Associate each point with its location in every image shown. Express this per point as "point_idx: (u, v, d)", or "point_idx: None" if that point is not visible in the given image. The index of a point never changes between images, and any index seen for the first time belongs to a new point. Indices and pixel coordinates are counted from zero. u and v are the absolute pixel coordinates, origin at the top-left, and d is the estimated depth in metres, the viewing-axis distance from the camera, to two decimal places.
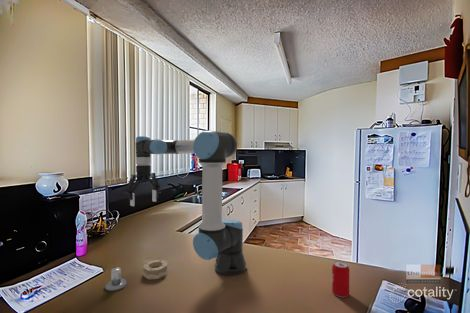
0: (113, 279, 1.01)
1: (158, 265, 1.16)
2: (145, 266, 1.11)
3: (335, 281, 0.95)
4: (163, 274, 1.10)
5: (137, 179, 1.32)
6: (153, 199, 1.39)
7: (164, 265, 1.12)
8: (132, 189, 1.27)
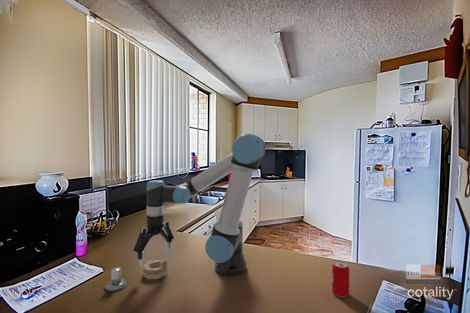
0: (113, 279, 1.01)
1: (158, 265, 1.16)
2: (145, 266, 1.11)
3: (335, 281, 0.95)
4: (163, 274, 1.10)
5: (148, 232, 1.11)
6: (165, 252, 1.18)
7: (164, 265, 1.12)
8: (142, 246, 1.06)
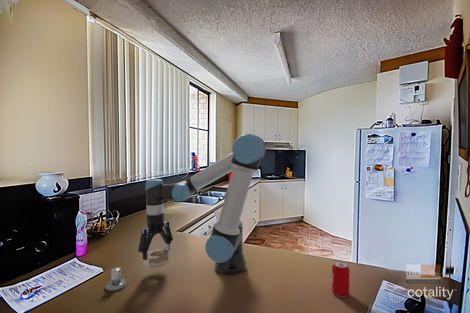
0: (113, 279, 1.01)
1: (159, 254, 1.15)
2: None
3: (335, 281, 0.95)
4: (164, 262, 1.10)
5: (149, 232, 1.11)
6: None
7: (165, 253, 1.12)
8: (146, 247, 1.07)
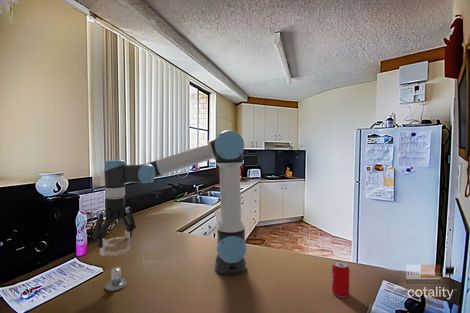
0: (113, 279, 1.01)
1: (119, 242, 1.05)
2: None
3: (335, 281, 0.95)
4: (123, 251, 0.99)
5: None
6: None
7: (124, 242, 1.01)
8: (101, 233, 0.96)
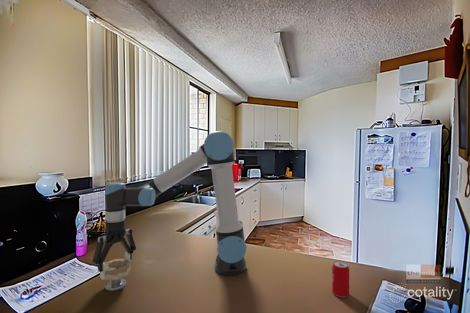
0: None
1: (119, 264, 1.05)
2: None
3: (335, 281, 0.95)
4: (123, 274, 1.00)
5: None
6: None
7: (125, 264, 1.02)
8: (102, 257, 0.97)
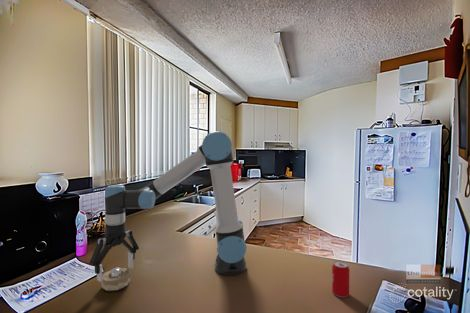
0: None
1: None
2: (104, 275, 1.01)
3: (335, 281, 0.95)
4: (123, 284, 1.00)
5: (107, 243, 1.00)
6: (129, 265, 1.08)
7: (125, 274, 1.02)
8: (99, 259, 0.96)
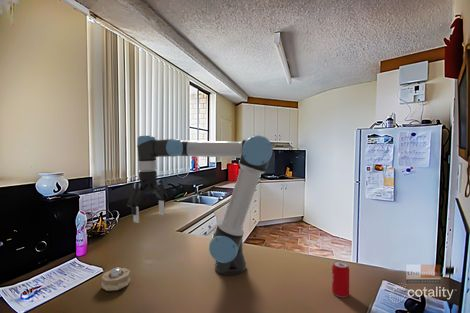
0: None
1: None
2: (104, 275, 1.01)
3: (335, 281, 0.95)
4: (123, 284, 1.00)
5: (141, 189, 1.07)
6: (160, 212, 1.15)
7: (125, 274, 1.02)
8: (135, 201, 1.03)
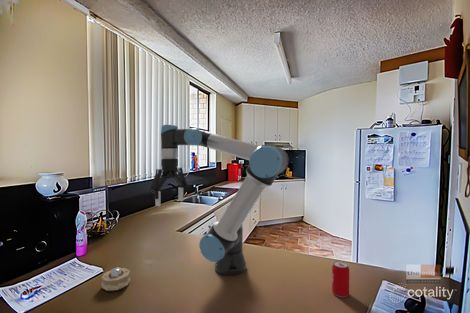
0: None
1: None
2: (104, 275, 1.01)
3: (335, 281, 0.95)
4: (123, 284, 1.00)
5: (163, 175, 1.13)
6: (180, 198, 1.21)
7: (125, 274, 1.02)
8: (158, 186, 1.09)
